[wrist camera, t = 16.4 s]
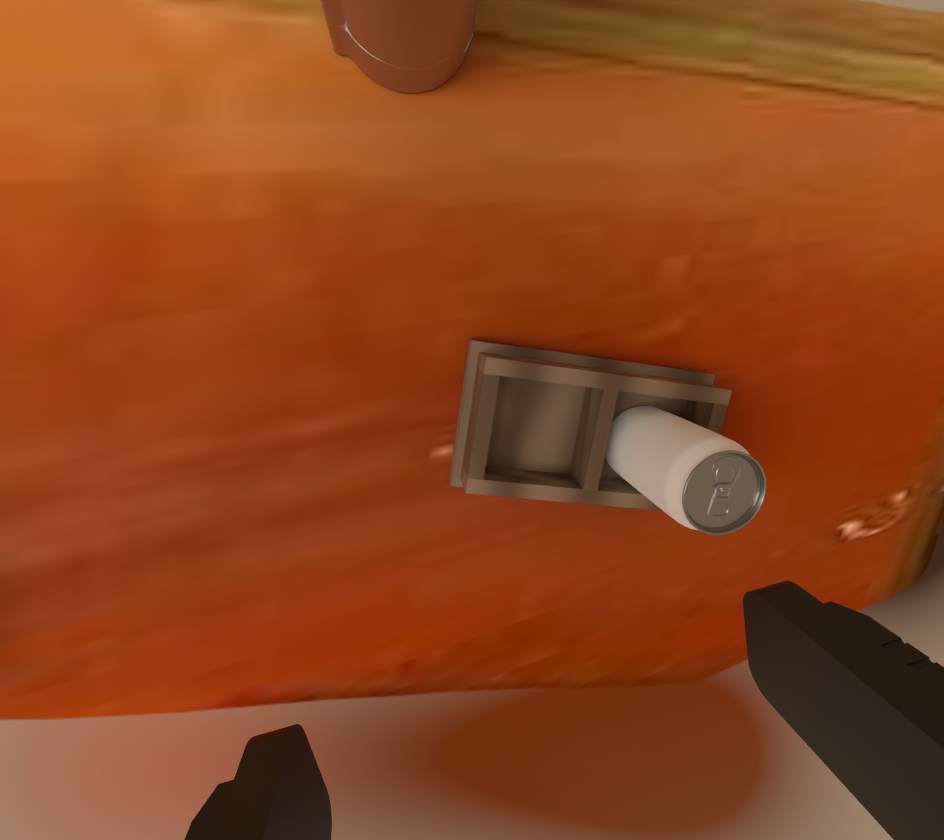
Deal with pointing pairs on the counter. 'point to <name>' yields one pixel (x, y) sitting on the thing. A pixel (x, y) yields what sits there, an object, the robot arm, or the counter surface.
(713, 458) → the can
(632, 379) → the tray
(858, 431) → the counter surface
